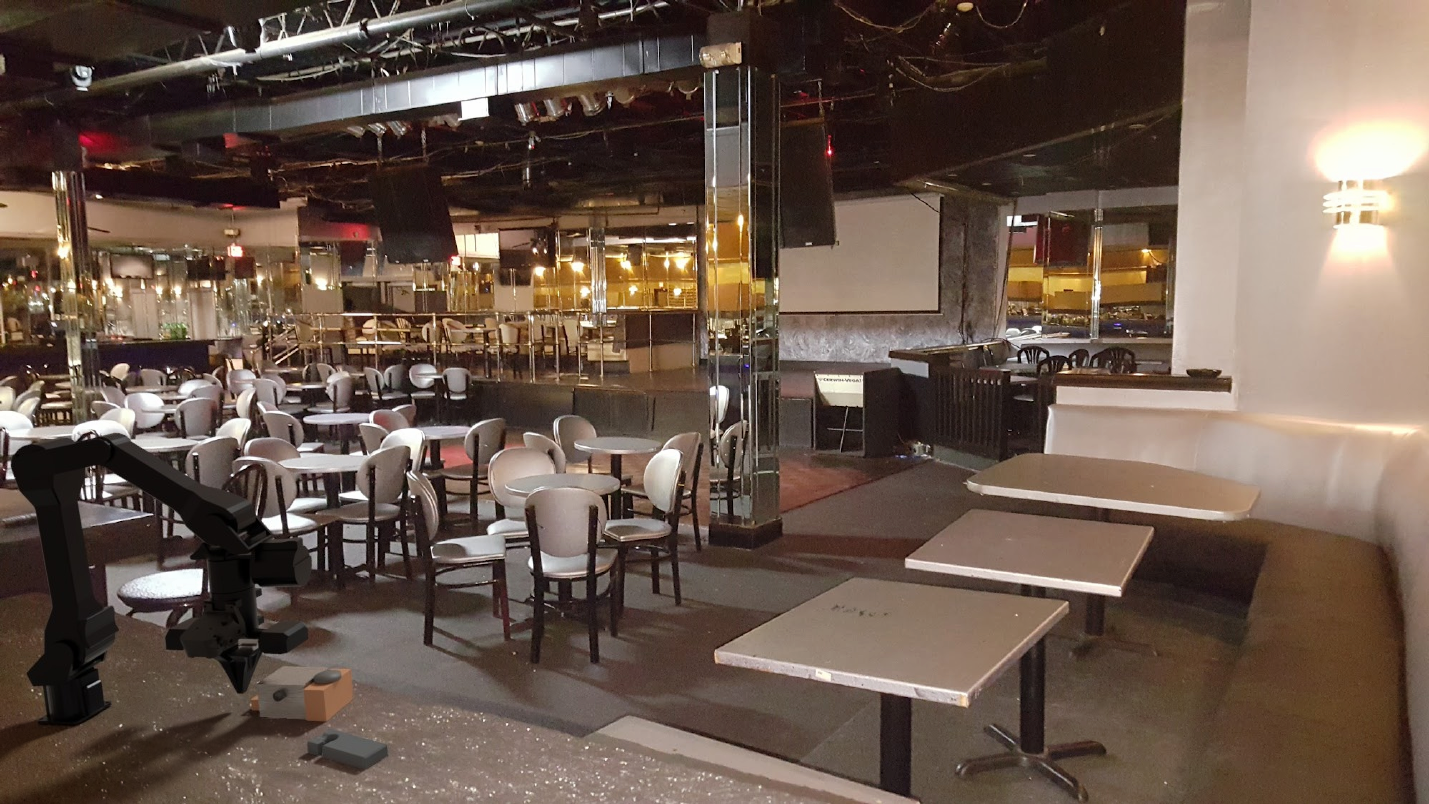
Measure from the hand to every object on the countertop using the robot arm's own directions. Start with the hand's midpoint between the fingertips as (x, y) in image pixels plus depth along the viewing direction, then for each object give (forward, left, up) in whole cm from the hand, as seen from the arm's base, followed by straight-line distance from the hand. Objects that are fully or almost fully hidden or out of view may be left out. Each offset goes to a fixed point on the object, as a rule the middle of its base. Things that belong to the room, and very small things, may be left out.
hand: (242, 692), depth 130 cm
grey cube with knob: (+8, 0, -2) cm, 8 cm away
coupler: (+9, 0, -2) cm, 9 cm away
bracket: (+23, -12, -3) cm, 26 cm away
